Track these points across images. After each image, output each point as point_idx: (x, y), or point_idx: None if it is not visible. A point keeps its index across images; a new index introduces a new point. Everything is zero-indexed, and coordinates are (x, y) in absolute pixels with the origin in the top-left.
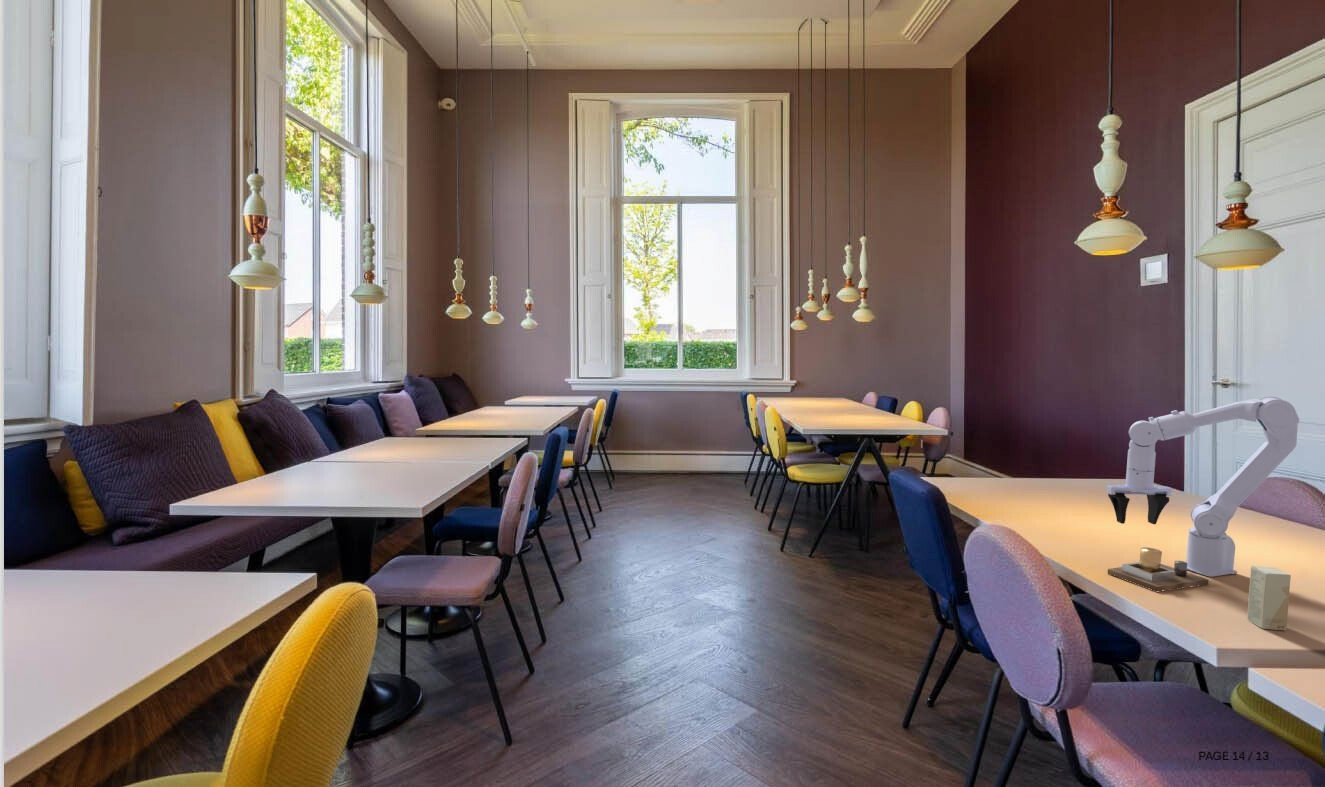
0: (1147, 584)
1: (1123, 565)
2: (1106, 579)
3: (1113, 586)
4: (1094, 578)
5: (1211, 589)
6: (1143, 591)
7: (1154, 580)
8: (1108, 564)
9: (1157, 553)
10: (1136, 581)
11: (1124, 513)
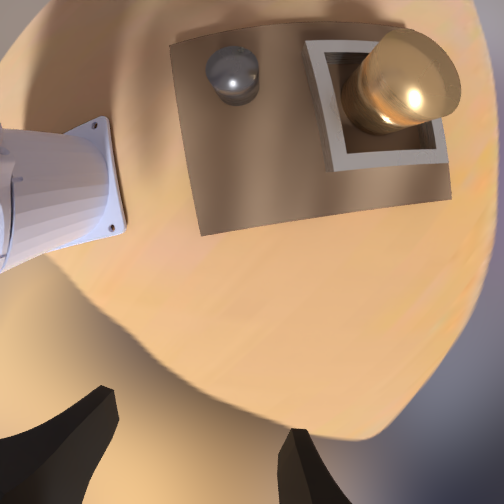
0: None
1: (445, 157)
2: (471, 158)
3: (482, 110)
4: (489, 174)
5: (207, 18)
6: None
7: None
8: (364, 284)
9: (419, 33)
10: None
11: (315, 478)
